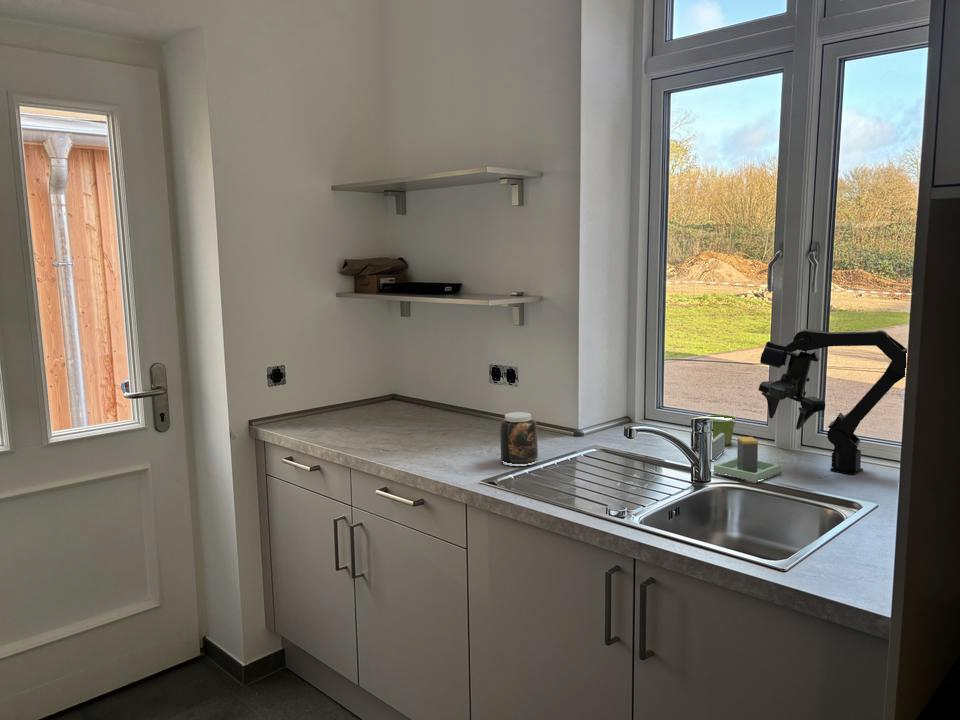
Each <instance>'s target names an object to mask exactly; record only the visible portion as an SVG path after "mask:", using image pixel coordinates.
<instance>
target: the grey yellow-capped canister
mask: <svg viewBox="0 0 960 720" xmlns="http://www.w3.org/2000/svg"><path fill="white" fill-rule="evenodd" d="M758 443H759V441H758V440H757V439H756V438H754V437H753V436H738V437H737V453H736V454H737V469H738V470H743V471H747V472H752V473H756V472H757V464H758V460H759V458H758V456H759V455H758V451H759V449H758V446H759V444H758Z"/></svg>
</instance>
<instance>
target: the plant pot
mask: <svg viewBox="0 0 960 720" xmlns="http://www.w3.org/2000/svg"><path fill="white" fill-rule="evenodd" d="M707 417H724V418H732V419H734V420H735V422H733V421H713V439H714V438H715V437H716V436H718V435H719V434H720V433H725V445H726V446H729V444H730V445H732V439H733V434H734V428H735V424H736V421H737V417H736V416H733V415H727V414H712V415H708V416H707Z"/></svg>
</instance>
